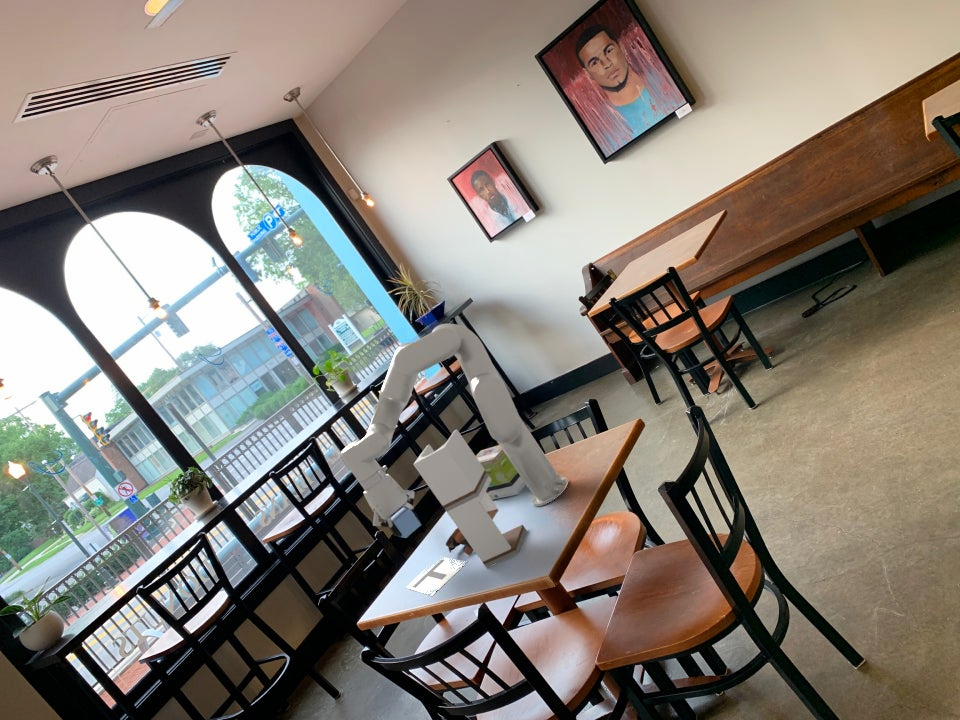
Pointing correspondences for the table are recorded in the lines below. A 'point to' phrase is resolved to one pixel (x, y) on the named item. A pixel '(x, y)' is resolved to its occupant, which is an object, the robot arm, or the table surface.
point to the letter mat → (435, 576)
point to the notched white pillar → (468, 498)
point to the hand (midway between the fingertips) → (408, 528)
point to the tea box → (500, 473)
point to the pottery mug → (458, 542)
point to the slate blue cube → (405, 521)
